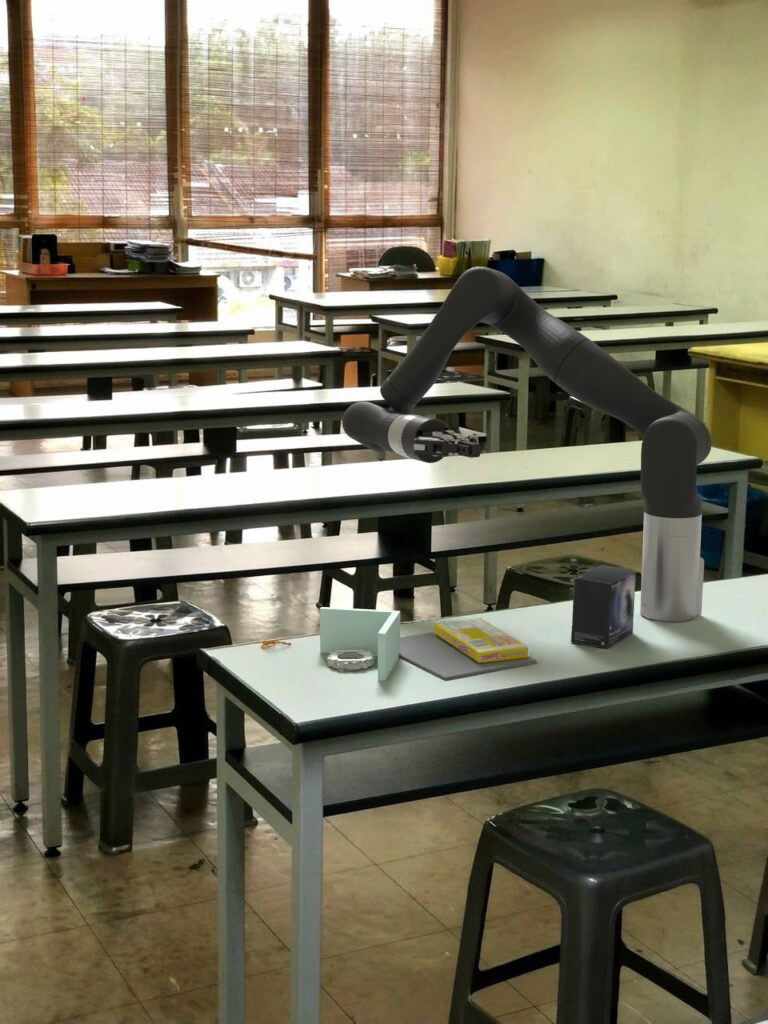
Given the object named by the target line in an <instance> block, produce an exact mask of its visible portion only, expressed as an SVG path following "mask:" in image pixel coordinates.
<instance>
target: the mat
mask: <svg viewBox="0 0 768 1024" xmlns="http://www.w3.org/2000/svg"><path fill="white" fill-rule="evenodd" d="M400 658H401V659H402V660H405V661H406V662H409V663H410V664H413V665H414V666H416V667H418V668H421V669H422V670H424V671H427V672H428V673H430V674H432V675H434V676H435V677H438V678H440V679H442V680H445V681H448V680H454V679H459V678H463V677H468V676H469V677H470V676H474V675H475V676H476V675H479V674H484V673H490V672H495V671H500V670H507V669H511V668H517V667H522V666H527V665H531V664H537V663H538V660H537V659H535V658H534V657H532V656H529V655H528V657H527V658H521V659H512V660H503V661H494V662H485V663H478V662H477V661H475V660H474V659H472V658H471V657H469V656H468V655H466V654H465V653H463V652H462V651H460V650H459V649H457V648H456V647H454V646H453V645H451V644H450V643H448V642H447V641H445V640H444V639H442V638H441V637H439V636H438V635H436V634H434V631H430V632H424V633H419V634H418V633H417V634H412V635H407V636H400V654H399V659H400Z"/></svg>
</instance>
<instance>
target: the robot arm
mask: <svg viewBox="0 0 768 1024" xmlns="http://www.w3.org/2000/svg"><path fill="white" fill-rule="evenodd" d="M479 323H483V324H486V325H487V326H488V325H489V326H491V327H492V328H494V329H496V330H498V331H499V332H501V333H502V334H504V335H506V336H507V337H509V338H510V339H512V340H513V341H514V342H515V343H517V344H519V346H521V347H522V349H524V350H525V351H526V353H528V355H529V356H530V358H531V359H532V360H533V362H534V363H535V364H536V365H537V366H538V368H539V369H540V370H541V371H542V372H543V374H544V375H546V376H547V377H548V379H550V380H551V381H552V382H553V383H555V384H556V385H557V386H558V387H559V388H561V389H562V390H564V391H565V392H566V393H567V394H568V395H570V396H571V397H573V398H574V399H576V400H578V401H579V402H581V403H583V404H584V405H587V406H588V407H590V408H592V409H595V410H596V411H599V412H601V413H603V414H606V415H609V416H610V417H613V418H615V419H617V420H619V421H621V422H622V423H625V424H626V425H627V426H629V427H630V428H632V429H633V430H635V432H637V433H638V434H640V435H641V436H642V439H641V448H640V492H641V496H642V499H643V506H644V508H643V509H644V510H643V511H644V512H643V530H642V531H643V533H642V534H643V535H642V557H641V558H642V559H641V560H642V561H641V581H640V583H641V584H640V606H639V607H640V609H639V611H640V612H639V613H640V614H641V616H643V617H644V618H647V619H652V620H656V621H663V622H686V621H691V620H694V619H696V618H697V616H701V615H702V612H703V611H702V610H703V592H704V591H703V589H704V575H705V574H704V573H705V571H704V570H705V560H704V558H703V557H701V541H702V540H701V537H702V521H703V520H702V517H703V516H702V513H703V498H702V497H701V495H700V494H699V493H698V489H697V469H698V468H697V466H699V465H700V464H701V463H703V462H704V461H705V460H706V459H707V458H708V456H709V455H710V453H711V450H712V445H713V444H712V443H713V440H712V435H711V433H710V430H709V428H708V427H707V425H706V424H705V423H704V421H703V420H702V419H701V418H699V417H698V416H696V415H695V414H693V413H692V412H690V411H688V410H686V409H685V408H684V407H681V406H680V405H678V404H676V403H675V402H673V401H672V400H670V399H668V398H667V397H664V396H663V395H662V394H660V393H659V392H657V391H656V390H654V389H653V388H651V386H649V385H647V384H646V383H645V382H644V381H642V380H641V379H640V378H639V377H638V376H637V375H636V374H635V373H633V372H632V371H631V370H629V369H628V368H627V367H625V366H624V365H623V364H622V363H621V362H619V361H618V360H616V359H615V358H614V357H613V356H612V355H610V354H609V353H608V352H607V351H606V350H604V349H603V348H602V347H600V346H599V345H598V344H597V343H595V342H594V341H593V340H591V339H590V338H588V336H586V335H584V334H582V332H580V331H578V330H577V329H575V328H574V327H572V326H571V325H569V324H568V323H566V322H565V321H563V320H561V319H559V318H558V317H557V316H554V315H553V314H551V313H549V312H548V311H547V310H545V309H544V308H543V307H541V305H540V304H538V303H537V302H536V301H535V300H534V299H533V298H532V297H530V296H529V295H528V294H527V293H526V292H525V291H524V290H523V288H521V287H520V286H519V285H518V284H517V283H516V282H515V281H514V280H513V279H512V278H511V277H510V276H508V275H507V274H505V273H504V272H502V271H499V270H496V269H493V268H491V267H486V266H475V267H471V268H468V269H466V270H465V271H463V273H462V274H460V276H459V277H458V279H457V281H456V282H455V283H454V284H453V287H452V288H451V289H450V291H449V293H448V294H447V297H446V298H445V299H444V301H443V303H442V305H441V306H440V308H439V309H438V311H437V313H436V314H435V316H434V317H433V319H432V320H431V321H430V323H429V325H428V326H427V328H426V330H425V331H424V332H423V334H422V335H421V336H420V337H419V339H418V340H417V342H416V343H415V344H414V345H413V346H412V348H411V349H410V351H409V352H408V353H407V354H406V355H405V356H404V357H403V359H402V360H401V361H400V362H399V364H398V365H396V367H395V368H394V369H393V370H392V371H391V372H390V374H389V375H388V376H387V377H386V379H385V380H384V381H383V382H382V383H381V386H380V389H379V393H380V395H381V397H382V399H384V401H385V402H386V403H387V405H388V406H390V407H389V409H386V408H385V407H382V406H380V405H377V404H374V403H373V402H369V401H358V402H355V403H353V404H351V405H350V406H349V407H348V408H346V410H345V411H344V414H343V416H342V418H341V419H342V421H341V422H342V423H341V425H342V429H343V431H344V433H345V434H346V435H347V436H348V437H349V438H350V439H351V440H354V441H355V442H358V443H359V444H361V445H363V446H364V447H366V448H368V449H369V450H371V451H374V453H375V452H376V453H384V452H386V451H387V452H390V453H394V454H396V455H400V456H401V457H404V458H407V459H410V460H415V461H418V462H423V463H425V464H433V463H437V462H440V461H442V460H443V459H444V458H448V457H449V458H450V457H454V456H455V457H460V456H462V457H466V458H471V459H472V458H480V456H481V454H482V453H481V448H482V447H481V444H480V443H479V434H477V433H472V434H471V433H470V434H468V435H467V438H465V437H464V435H463V434H461V433H456V432H455V430H450V428H449V427H448V425H447V424H446V423H445V422H444V421H443V420H441V419H438V418H434V417H428V416H423V415H420V414H411V413H412V412H413V410H414V408H415V407H416V406H417V404H418V403H419V402H420V401H421V400H422V399H423V397H424V396H425V395H426V394H427V393H428V392H429V390H430V389H431V388H432V387H433V386H434V384H436V382H437V380H438V379H439V377H440V375H441V374H442V372H443V370H444V368H445V365H446V364H447V362H448V360H449V358H450V356H451V354H452V352H453V351H454V349H455V347H456V346H457V345H458V344H459V343H460V341H461V340H462V338H464V336H465V335H466V334H467V333H469V332H470V331H471V330H472V329H473V328H474V327H476V325H478V324H479Z"/></svg>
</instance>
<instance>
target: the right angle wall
mask: <svg viewBox="0 0 768 1024" xmlns="http://www.w3.org/2000/svg"><path fill="white" fill-rule="evenodd" d="M400 637H401V610H387V609H386V610H385V609H384V610H383V609H367V608H348V607H347V608H346V607H330V606H329V607H326V606H325V607H324V606H321V607H320V608H319V643H320V644H319V646H320V647H319V651H320V652H319V653H320V654H328V655H327V657H326V660H327V661H326V662H327V667H332V668H333V669H336V670H338V671H340V672H345V671H348V672H349V671H351V672H352V671H353V672H354V671H357V670H363V669H364V670H366V669H368V668H370V666H372V667H373V664H375V661H374V660H375V659H374V658H375V657H377V681H380V682H381V681H382V682H383V681H384V682H386V680H387V679H388V677H389V675H390V673H391V672H392V670H393V669H394V667H395V665H396V664H397V662H398V660H399V659H400V657H399V654H400ZM362 661H363V662H362ZM372 663H373V664H372Z"/></svg>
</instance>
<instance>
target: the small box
mask: <svg viewBox="0 0 768 1024" xmlns="http://www.w3.org/2000/svg"><path fill="white" fill-rule="evenodd" d="M636 573H637V570H633V569H626V568H621V567H615V566H610V565H605V564H600V565H599V566H596V567H593V568H592V569H590V570H588V571H585V572H583V573H581V574H579V575H576V576H574V578H573V595H572V596H573V597H572V620H571V622H572V623H571V633H570V634H571V635H570V643H572V644H574V643H575V644H580V645H585V646H591V647H596V648H601V649H608V648H610V647H611V646H614V645H615V644H617V643H618V642H620V641H622V640H623V639H626V638H627V637H629V636H631V635H632V634H634V615H635V598H636V597H635V596H636V595H635V593H636V575H637V574H636Z"/></svg>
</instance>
